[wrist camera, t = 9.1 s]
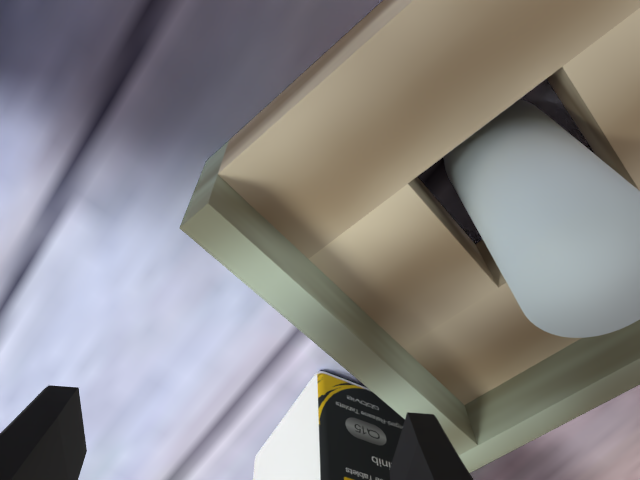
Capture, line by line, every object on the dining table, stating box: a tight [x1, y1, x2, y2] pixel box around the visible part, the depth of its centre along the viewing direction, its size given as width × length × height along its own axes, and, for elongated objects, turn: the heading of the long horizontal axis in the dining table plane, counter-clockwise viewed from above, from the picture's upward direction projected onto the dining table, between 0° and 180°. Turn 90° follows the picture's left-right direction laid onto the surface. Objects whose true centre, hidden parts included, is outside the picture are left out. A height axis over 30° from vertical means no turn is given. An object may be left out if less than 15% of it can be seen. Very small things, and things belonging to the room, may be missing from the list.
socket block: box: [180, 0, 640, 473], centre depth 18 cm, size 15×15×5 cm
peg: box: [444, 99, 640, 338], centre depth 16 cm, size 4×4×8 cm
